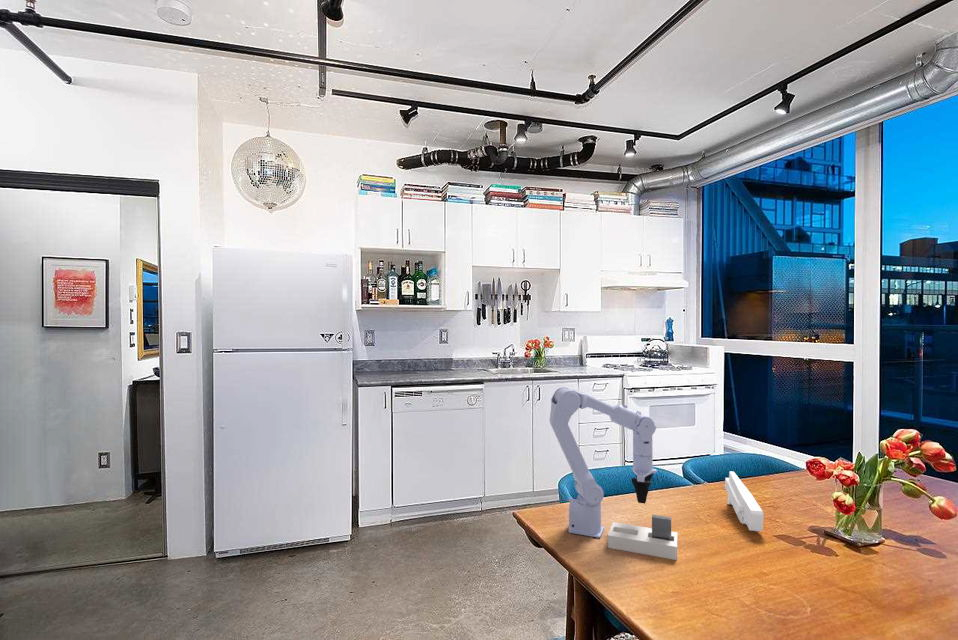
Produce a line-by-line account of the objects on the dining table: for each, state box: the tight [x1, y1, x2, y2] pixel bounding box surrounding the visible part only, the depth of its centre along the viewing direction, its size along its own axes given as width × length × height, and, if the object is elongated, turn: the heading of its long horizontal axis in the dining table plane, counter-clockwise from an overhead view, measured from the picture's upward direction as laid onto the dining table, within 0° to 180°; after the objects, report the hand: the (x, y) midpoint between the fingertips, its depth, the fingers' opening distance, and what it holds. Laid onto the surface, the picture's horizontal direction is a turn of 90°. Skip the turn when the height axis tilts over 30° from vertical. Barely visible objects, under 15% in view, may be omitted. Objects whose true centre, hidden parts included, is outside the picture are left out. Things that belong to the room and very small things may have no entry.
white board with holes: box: [607, 521, 679, 561], centre depth 136 cm, size 18×10×4 cm, turn 67°
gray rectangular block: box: [651, 514, 672, 541], centre depth 134 cm, size 5×2×9 cm, turn 67°
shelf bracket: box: [724, 470, 765, 532], centre depth 156 cm, size 6×25×13 cm, turn 169°
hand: (642, 498), depth 148 cm, fingers open, 7 cm apart
